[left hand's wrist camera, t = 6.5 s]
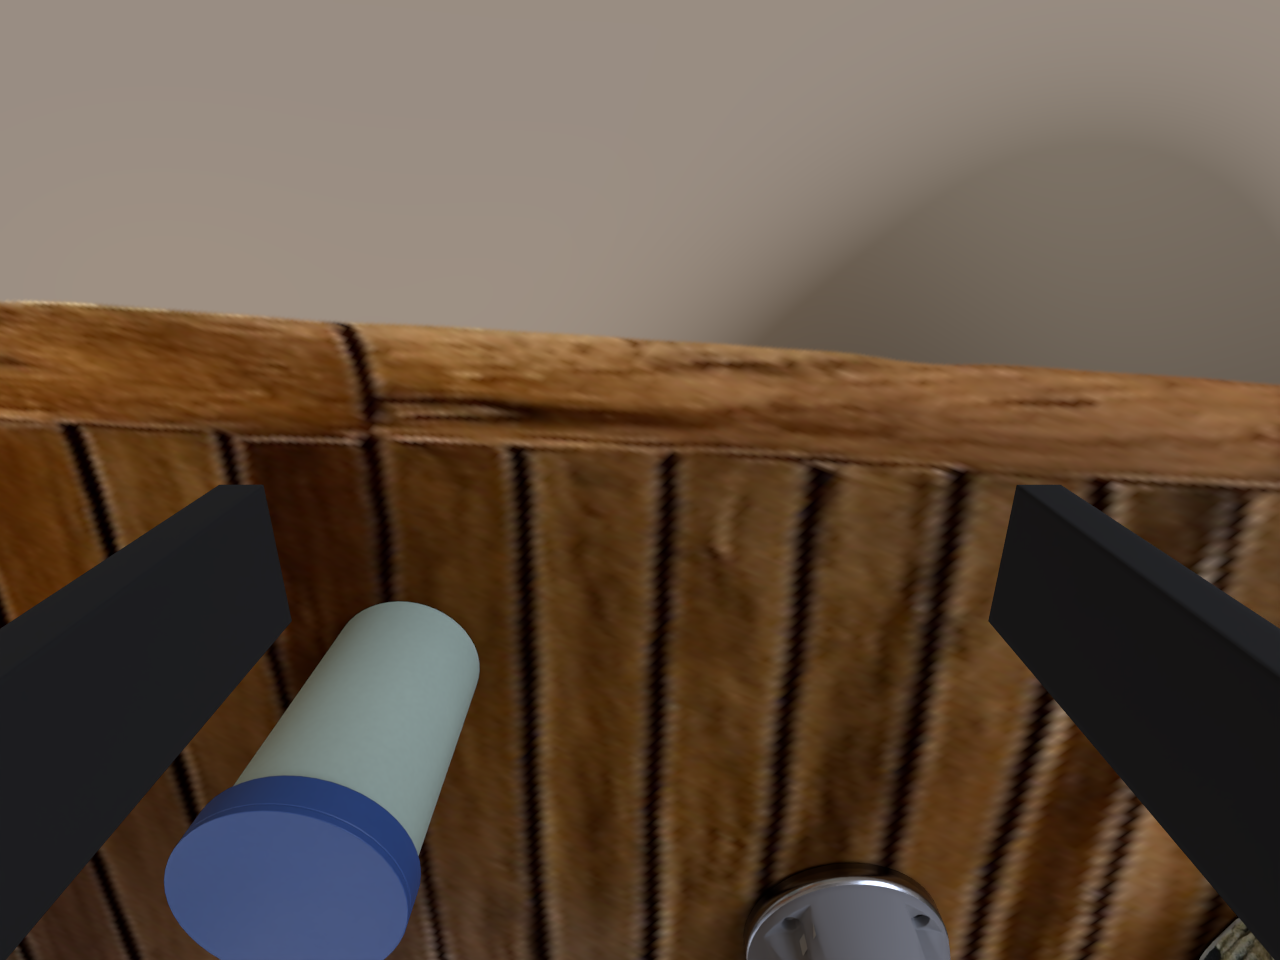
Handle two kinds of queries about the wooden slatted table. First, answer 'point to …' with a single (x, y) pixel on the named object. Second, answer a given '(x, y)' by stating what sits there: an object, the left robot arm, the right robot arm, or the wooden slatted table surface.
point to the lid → (293, 873)
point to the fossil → (1236, 945)
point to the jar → (380, 712)
